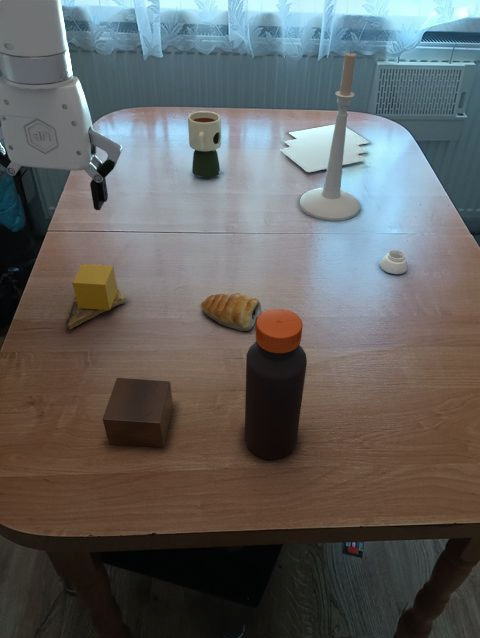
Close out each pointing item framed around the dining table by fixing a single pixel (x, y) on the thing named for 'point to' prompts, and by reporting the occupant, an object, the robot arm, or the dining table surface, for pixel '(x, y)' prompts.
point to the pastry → (233, 310)
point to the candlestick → (335, 163)
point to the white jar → (394, 262)
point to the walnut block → (138, 412)
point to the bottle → (274, 384)
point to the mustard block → (95, 287)
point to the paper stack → (321, 147)
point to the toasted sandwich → (88, 312)
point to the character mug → (205, 142)
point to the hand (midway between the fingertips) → (64, 202)
